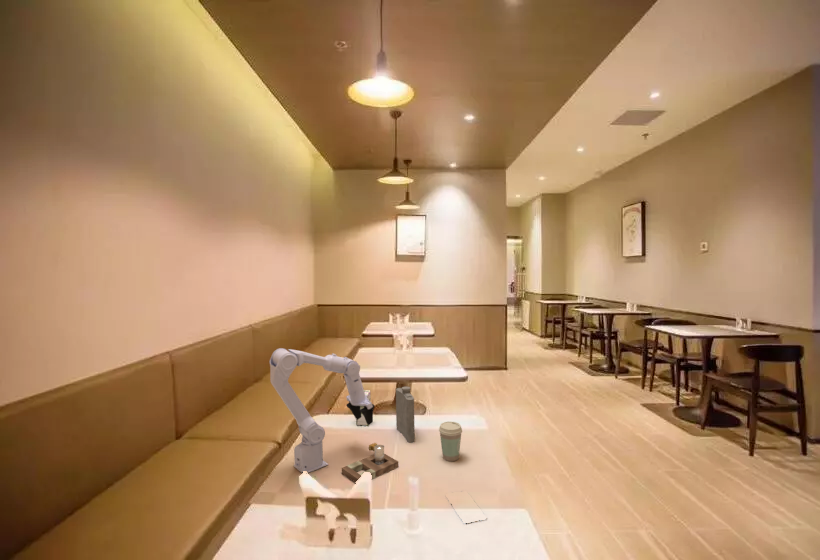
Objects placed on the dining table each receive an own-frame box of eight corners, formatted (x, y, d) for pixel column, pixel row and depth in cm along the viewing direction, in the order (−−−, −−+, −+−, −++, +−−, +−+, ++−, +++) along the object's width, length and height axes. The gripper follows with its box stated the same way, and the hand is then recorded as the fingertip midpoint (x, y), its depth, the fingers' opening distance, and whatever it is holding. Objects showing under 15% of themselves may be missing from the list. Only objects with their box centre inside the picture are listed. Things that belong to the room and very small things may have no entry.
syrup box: (371, 421, 184) (370, 389, 184) (368, 426, 179) (368, 393, 178) (358, 420, 185) (358, 389, 184) (356, 425, 179) (355, 393, 178)
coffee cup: (461, 464, 144) (461, 431, 144) (437, 462, 146) (437, 429, 146) (463, 452, 153) (463, 421, 152) (440, 451, 154) (440, 420, 154)
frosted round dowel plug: (378, 469, 141) (378, 450, 141) (372, 466, 144) (372, 446, 144) (386, 466, 144) (386, 446, 143) (380, 462, 146) (380, 443, 146)
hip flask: (395, 428, 176) (394, 382, 175) (404, 426, 178) (403, 381, 177) (408, 443, 161) (407, 393, 160) (417, 441, 163) (417, 392, 162)
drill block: (358, 485, 132) (358, 479, 132) (341, 473, 139) (341, 467, 139) (398, 466, 143) (398, 461, 143) (381, 456, 150) (380, 451, 150)
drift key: (377, 454, 148) (377, 449, 148) (368, 449, 152) (368, 445, 152) (383, 451, 150) (383, 447, 150) (375, 447, 154) (375, 442, 154)
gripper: (375, 387, 151) (383, 420, 154) (353, 380, 162) (361, 411, 165) (360, 396, 147) (369, 430, 149) (338, 389, 157) (347, 420, 160)
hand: (364, 420), depth 157 cm, fingers open, 7 cm apart
